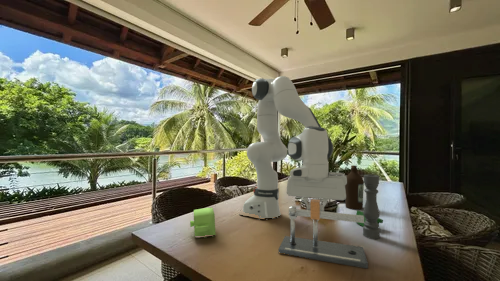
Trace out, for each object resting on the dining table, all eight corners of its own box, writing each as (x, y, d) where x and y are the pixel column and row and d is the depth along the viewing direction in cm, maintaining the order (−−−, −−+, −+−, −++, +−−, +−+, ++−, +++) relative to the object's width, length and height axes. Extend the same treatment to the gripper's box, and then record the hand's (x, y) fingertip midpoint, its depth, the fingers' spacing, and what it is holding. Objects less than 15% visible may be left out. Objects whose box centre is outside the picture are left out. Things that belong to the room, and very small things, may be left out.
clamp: (377, 239, 102) (387, 223, 99) (365, 236, 101) (375, 220, 98) (363, 220, 113) (372, 205, 110) (352, 217, 113) (361, 203, 109)
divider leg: (310, 247, 80) (310, 201, 80) (311, 242, 84) (311, 198, 84) (319, 249, 79) (319, 202, 79) (320, 243, 83) (320, 199, 83)
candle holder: (360, 233, 98) (359, 174, 98) (373, 232, 98) (373, 174, 98) (368, 239, 92) (368, 176, 92) (383, 238, 92) (383, 176, 92)
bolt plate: (278, 253, 80) (278, 248, 80) (285, 239, 91) (285, 235, 91) (367, 268, 70) (367, 263, 70) (362, 251, 82) (362, 246, 82)
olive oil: (341, 207, 137) (341, 165, 137) (348, 204, 144) (348, 164, 144) (359, 211, 129) (359, 167, 129) (366, 207, 136) (366, 165, 137)
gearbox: (190, 227, 106) (190, 206, 106) (212, 224, 108) (211, 204, 108) (190, 243, 88) (189, 218, 88) (216, 239, 91) (215, 215, 91)
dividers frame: (286, 244, 83) (286, 207, 84) (289, 237, 89) (289, 203, 89) (365, 256, 75) (365, 215, 75) (363, 248, 81) (363, 209, 81)
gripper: (346, 171, 81) (346, 210, 81) (288, 169, 88) (288, 205, 88) (347, 174, 75) (347, 216, 75) (285, 171, 82) (285, 209, 82)
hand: (315, 210), depth 81 cm, fingers closed on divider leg, 3 cm apart
